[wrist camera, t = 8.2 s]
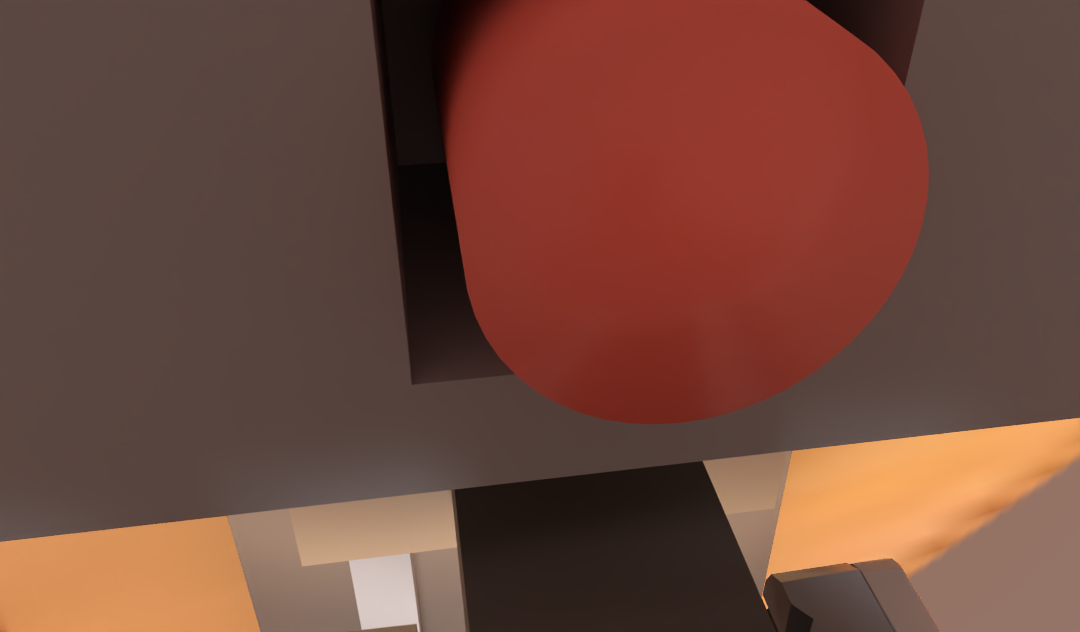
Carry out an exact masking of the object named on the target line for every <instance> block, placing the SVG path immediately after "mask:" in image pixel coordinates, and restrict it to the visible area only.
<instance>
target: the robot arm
mask: <svg viewBox="0 0 1080 632" xmlns="http://www.w3.org/2000/svg"><path fill="white" fill-rule="evenodd" d="M763 596H764V598H765V601H766V603H767V605H768V609H767V612H768V614H769V617H770V619H771V621H772V624H773V626H774V628H775V631H776V632H941V631H940V629H939V628H938V626H937V624H936V623H935V621H934V619H933V618H932V616H931V614H930V613H929V611H928V610H927V608H926V606H925V605H924V603H923V601H922V600H921V598H920V596H919V595H918V593H917V592H916V590H915V589H914V587H913V585H912V583H911V582H910V580H909V579H908V577H907V575H906V574H905V572H904V570H903V569H902V567H901V566H900V565H899V564H898V563H897V562H895V561H894V560H893V559H879V560H873V561H866V562H860V563H853V564H847V563H843V564H837V565H830V566H823V567H817V568H810V569H803V570H797V571H790V572H784V573H777V574H771V575H770V576H769V578H768V579H767V580H766V582H765V587H764V591H763ZM346 632H418V629H417V624H408V625H399V626H390V627H381V628H373V629H364V630H355V631H346Z"/></svg>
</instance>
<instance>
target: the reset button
mask: <svg viewBox="0 0 1080 632" xmlns="http://www.w3.org/2000/svg"><path fill="white" fill-rule="evenodd" d="M432 75H433V82H434V89H435V96H436V102H437V108H438V114H439V120H440V126H441V132H442V138H443V145H444V151H445V157H446V163H447V169H448V175H449V181H450V187H451V194H452V200H453V206H454V212H455V218H456V224H457V230H458V236H459V243H460V249H461V255H462V261H463V267H464V273H465V279H466V285H467V291H468V295H469V298H470V301H471V304H472V308H473V311H474V314H475V317H476V319H477V321H478V323H479V325H480V327H481V329H482V331H483V333H484V335H485V337H486V339H487V341H488V342H489V343H490V345H491V346H492V348H493V349H494V351H495V352H496V353H497V355H498V356H499V358H500V359H501V360H502V361H503V362H504V363H505V364H506V365H507V366H508V367H509V368H510V370H511V371H512V372H513V373H514V374H515V375H516V376H517V377H519V378H520V379H521V380H522V381H524V382H525V383H526V384H528V385H529V386H530V387H531V388H533V389H534V390H535V391H537V392H538V393H540V394H542V395H544V396H545V397H547V398H549V399H550V400H552V401H554V402H556V403H558V404H560V405H562V406H565V407H567V408H570V409H572V410H574V411H577V412H579V413H583V414H586V415H590V416H593V417H597V418H601V419H604V420H611V421H617V422H624V423H633V424H671V423H683V422H689V421H696V420H702V419H708V418H711V417H715V416H719V415H723V414H727V413H731V412H734V411H737V410H740V409H742V408H745V407H748V406H751V405H753V404H756V403H759V402H761V401H763V400H765V399H767V398H769V397H772V396H774V395H776V394H778V393H780V392H782V391H784V390H786V389H787V388H789V387H791V386H793V385H794V384H796V383H798V382H799V381H801V380H803V379H805V378H806V377H808V376H809V375H811V374H812V373H813V372H815V371H816V370H818V369H819V368H820V367H822V366H823V365H824V364H826V363H827V362H829V361H830V360H831V359H832V358H833V357H835V356H836V355H837V354H838V353H839V352H840V351H841V350H843V349H844V348H845V347H846V346H847V345H848V344H850V343H851V342H852V341H853V340H854V338H855V337H856V336H857V335H858V334H859V333H860V332H861V331H862V330H863V329H864V328H865V327H866V326H867V325H868V324H869V323H870V321H871V320H872V319H873V318H874V316H875V315H876V314H877V312H878V311H879V310H880V309H881V307H882V306H883V305H884V303H885V302H886V301H887V299H888V298H889V296H890V294H891V293H892V291H893V290H894V288H895V286H896V285H897V283H898V282H899V280H900V278H901V277H902V275H903V272H904V270H905V268H906V266H907V264H908V262H909V260H910V258H911V256H912V254H913V251H914V248H915V245H916V242H917V239H918V236H919V233H920V231H921V228H922V224H923V219H924V214H925V209H926V204H927V198H928V181H929V166H928V155H927V145H926V141H925V137H924V133H923V129H922V125H921V121H920V118H919V116H918V113H917V111H916V109H915V106H914V104H913V102H912V100H911V97H910V95H909V93H908V92H907V90H906V89H905V87H904V86H903V84H902V83H901V81H900V80H899V78H898V77H897V75H896V74H895V72H894V71H893V70H892V69H891V68H890V67H889V66H888V64H887V63H886V62H885V61H884V60H883V59H882V58H881V57H880V56H879V55H878V54H877V53H876V52H875V51H874V50H873V49H871V48H870V47H869V46H867V45H866V44H865V43H863V42H862V41H861V40H859V39H858V38H857V37H855V36H854V35H853V34H851V33H850V32H849V31H847V30H846V29H845V28H843V27H842V26H840V25H839V24H838V23H836V22H835V21H834V20H832V19H831V18H829V17H828V16H827V15H825V14H824V13H823V12H821V11H820V10H818V9H817V8H816V7H814V6H813V5H812V4H810V3H809V2H807V1H806V0H443V1H442V3H441V6H440V9H439V13H438V17H437V21H436V24H435V28H434V36H433V44H432Z"/></svg>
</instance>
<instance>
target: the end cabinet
mask: <svg viewBox="0 0 1080 632" xmlns="http://www.w3.org/2000/svg"><path fill="white" fill-rule="evenodd" d="M442 1H443V0H0V542H1V541H10V540H19V539H28V538H36V537H45V536H54V535H62V534H71V533H80V532H88V531H97V530H106V529H115V528H123V527H132V526H141V525H149V524H158V523H167V522H176V521H184V520H193V519H202V518H210V517H219V516H228V515H236V514H245V513H254V512H263V511H271V510H280V509H289V508H297V507H306V506H315V505H324V504H332V503H341V502H350V501H358V500H367V499H376V498H384V497H393V496H402V495H411V494H419V493H428V492H437V491H445V490H454V489H463V488H471V487H480V486H489V485H498V484H506V483H515V482H524V481H532V480H541V479H550V478H559V477H567V476H576V475H585V474H593V473H602V472H611V471H619V470H628V469H637V468H646V467H654V466H663V465H672V464H680V463H689V462H698V461H707V460H715V459H724V458H733V457H741V456H750V455H759V454H767V453H776V452H785V451H794V450H802V449H811V448H820V447H828V446H837V445H846V444H855V443H863V442H872V441H881V440H889V439H898V438H907V437H915V436H924V435H933V434H942V433H950V432H959V431H968V430H976V429H985V428H994V427H1002V426H1011V425H1020V424H1029V423H1037V422H1046V421H1055V420H1063V419H1072V418H1080V0H806V1H807V2H809V3H810V4H812V5H813V6H814V7H816V8H817V9H818V10H820V11H821V12H823V13H824V14H825V15H827V16H828V17H829V18H831V19H832V20H834V21H835V22H836V23H838V24H839V25H840V26H842V27H843V28H845V29H846V30H847V31H849V32H850V33H851V34H853V35H854V36H855V37H857V38H858V39H859V40H861V41H862V42H863V43H865V44H866V45H867V46H869V47H870V48H871V49H873V50H874V51H875V52H876V53H877V54H878V55H879V56H880V57H881V58H882V59H883V60H884V61H885V62H886V63H887V64H888V66H889V67H890V68H891V69H892V70H893V71H894V72H895V74H896V75H897V77H898V78H899V80H900V81H901V83H902V84H903V86H904V87H905V89H906V90H907V92H908V93H909V95H910V97H911V100H912V102H913V104H914V106H915V109H916V111H917V113H918V116H919V118H920V121H921V125H922V129H923V133H924V137H925V141H926V145H927V155H928V166H929V181H928V198H927V204H926V209H925V214H924V219H923V224H922V228H921V231H920V233H919V236H918V239H917V242H916V245H915V248H914V251H913V254H912V256H911V258H910V260H909V262H908V264H907V266H906V268H905V270H904V272H903V275H902V277H901V278H900V280H899V282H898V283H897V285H896V286H895V288H894V290H893V291H892V293H891V294H890V296H889V298H888V299H887V301H886V302H885V303H884V305H883V306H882V307H881V309H880V310H879V311H878V312H877V314H876V315H875V316H874V318H873V319H872V320H871V321H870V323H869V324H868V325H867V326H866V327H865V328H864V329H863V330H862V331H861V332H860V333H859V334H858V335H857V336H856V337H855V338H854V340H853V341H852V342H851V343H850V344H848V345H847V346H846V347H845V348H844V349H843V350H841V351H840V352H839V353H838V354H837V355H836V356H835V357H833V358H832V359H831V360H830V361H829V362H827V363H826V364H824V365H823V366H822V367H820V368H819V369H818V370H816V371H815V372H813V373H812V374H811V375H809V376H808V377H806V378H805V379H803V380H801V381H799V382H798V383H796V384H794V385H793V386H791V387H789V388H787V389H786V390H784V391H782V392H780V393H778V394H776V395H774V396H772V397H769V398H767V399H765V400H763V401H761V402H759V403H756V404H753V405H751V406H748V407H745V408H742V409H740V410H737V411H734V412H731V413H727V414H723V415H719V416H715V417H711V418H708V419H702V420H696V421H689V422H683V423H671V424H633V423H624V422H617V421H611V420H604V419H601V418H597V417H593V416H590V415H586V414H583V413H579V412H577V411H574V410H572V409H570V408H567V407H565V406H562V405H560V404H558V403H556V402H554V401H552V400H550V399H549V398H547V397H545V396H544V395H542V394H540V393H538V392H537V391H535V390H534V389H533V388H531V387H530V386H529V385H528V384H526V383H525V382H524V381H522V380H521V379H520V378H519V377H517V376H516V375H515V374H514V373H513V372H512V371H511V370H510V368H509V367H508V366H507V365H506V364H505V363H504V362H503V361H502V360H501V359H500V358H499V356H498V355H497V353H496V352H495V351H494V349H493V348H492V346H491V345H490V343H489V342H488V341H487V339H486V337H485V335H484V333H483V331H482V329H481V327H480V325H479V323H478V321H477V319H476V317H475V314H474V311H473V308H472V304H471V301H470V298H469V295H468V291H467V285H466V279H465V273H464V267H463V261H462V255H461V249H460V243H459V236H458V230H457V224H456V218H455V212H454V206H453V200H452V194H451V187H450V181H449V175H448V169H447V163H446V157H445V151H444V145H443V138H442V132H441V126H440V120H439V114H438V108H437V102H436V96H435V89H434V82H433V75H432V44H433V36H434V28H435V24H436V21H437V17H438V13H439V9H440V6H441V3H442Z"/></svg>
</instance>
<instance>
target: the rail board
mask: <svg viewBox="0 0 1080 632" xmlns="http://www.w3.org/2000/svg"><path fill="white" fill-rule="evenodd" d="M791 453H792V451H786V455H785V460H784V465H783V470H782V475H781V480H780V485H779V489H778V494H777V499H776V504H775V508H774V509H766V510H758V511H750V512H742V513H734V514H726V517H727V519H728V521H729V524H730V526H731V528H732V531H733V533H734V535H735V537H736V540H737V542H738V544H739V547H740V549H741V551H742V554H743V556H744V558H745V561H746V563H747V565H748V568H749V570H750V572H751V575H752V577H753V579H754V582H755V584H756V586H757V589H758V591H759V593H760V596H761V597H762V592H763V587H764V582H765V578H766V573H767V568H768V563H769V559H770V554H771V549H772V544H773V539H774V535H775V530H776V525H777V520H778V515H779V511H780V506H781V501H782V496H783V492H784V487H785V482H786V477H787V472H788V468H789V463H790V458H791ZM227 517H228V520H229V523H230V527H231V530H232V534H233V537H234V541H235V544H236V548H237V551H238V555H239V558H240V561H241V565H242V568H243V572H244V575H245V579H246V582H247V586H248V589H249V593H250V596H251V599H252V603H253V606H254V610H255V613H256V617H257V620H258V624H259V627H260V631H261V632H346V631H355V630H364V629H373V628H381V627H390V626H399V625H408V624H417V629H418V632H466V628H465V619H464V609H463V599H462V590H461V580H460V570H459V561H458V551H457V548H449V549H440V550H432V551H424V552H416V553H408V554H400V555H392V556H383V557H375V558H367V559H359V560H351V561H343V562H335V563H326V564H318V565H310V566H302V564H301V560H300V556H299V551H298V547H297V543H296V538H295V534H294V530H293V525H292V521H291V517H290V512H289V509H280V510H271V511H263V512H254V513H245V514H236V515H228V516H227Z"/></svg>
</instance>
